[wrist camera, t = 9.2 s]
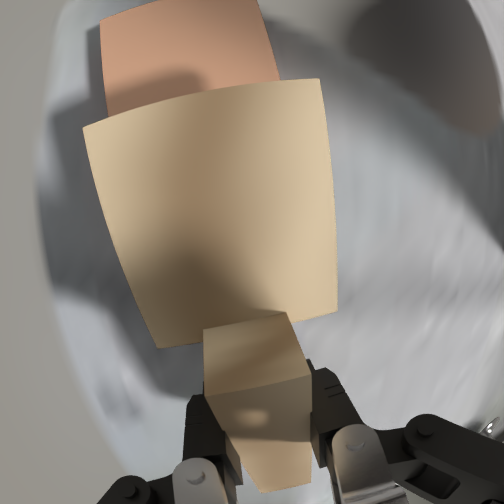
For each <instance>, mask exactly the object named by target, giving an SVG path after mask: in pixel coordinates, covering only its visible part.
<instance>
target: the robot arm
mask: <svg viewBox="0 0 504 504" xmlns="http://www.w3.org/2000/svg"><path fill="white" fill-rule="evenodd" d="M306 362H307V364H308V367H309V369H310V371H311V374H312V412H310V443H311V445H312V448H313V451H314V454H315V457H316V459H317V462H318V465H319V468H323V467H326V466H327V468H328V470H329V473H330V482H331V488H332V493H333V499H334V504H409V501H408V499H407V496H406V493H405V491H404V489H403V488H402V487H404V488H406V489H407V490H409V491H411V492H413V493H415V494H416V495H418V496H420V497H422V498H424V499H426V500H428V501H430V502H432V503H434V504H504V443H502V442H499V441H496V440H494V439H491V438H488V437H486V436H483V435H481V434H478V433H476V432H473V431H471V430H468V429H466V428H464V427H461V426H459V425H456V424H454V423H452V422H450V421H447V420H445V419H443V418H440V417H438V416H436V415H433V414H422V415H418V416H416V417H414V418H413V419H411V420H410V421H409V422H408V423H407V425H406V427H404V428H398V429H392V430H376V429H373V428H371V427H369V426H367V425H366V424H365V423H364V422H363V421H362V420H361V418H360V416H359V414H358V413H357V411H356V409H355V407H354V406H353V404H352V402H351V400H350V399H349V397H348V395H347V393H345V390H344V388H343V386H342V385H341V383H340V381H339V379H338V378H337V376H336V374H335V373H333V372H332V371H330V370H329V369H327V368H326V367H325V368H322V369H318V370H315V369H314V367H313V365H312V363H311V361H310V359H306ZM185 426H186V427H185V432H184V446H183V459H182V462H181V463H180V464H178V465H177V466H176V468H175V469H174V471H173V473H172V474H171V475H169V476H166V477H163V478H160V479H156V480H152V481H149V482H146V481H145V480H144V479H142V478H141V477H138V476H133V475H129V476H124V477H121V478H120V479H118V480H117V481H116V482H115V483H114V484H113V485H112V486H111V488H110V489H109V490H108V491H107V492H106V493H105V495H104V496H103V497H102V498H101V499H100V501H99V502H98V503H97V504H239V503H238V500H237V496H236V487H235V486H236V485H243V479H242V471H241V463H240V456H239V455H238V453H237V451H236V450H235V448H234V446H233V444H232V443H231V441H230V439H229V437H228V435H227V434H226V432H225V430H224V431H223V430H222V428H221V427H220V425H219V423H218V421H217V419H216V417H215V416H214V414H213V412H212V410H211V408H210V406H209V404H208V402H207V400H206V398H205V396H204V382H203V394H199V395H193V396H192V398H191V399H190V401H189V402H188V404H187V408H186V420H185ZM395 483H397V484H398V485H396V484H395ZM399 485H400V486H399ZM401 486H402V487H401Z"/></svg>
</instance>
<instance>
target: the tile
mask: <svg viewBox="0 0 504 504" xmlns="http://www.w3.org/2000/svg"><path fill="white" fill-rule="evenodd" d="M100 40H101V56H102V69H103V79H104V88H105V97H106V104H107V111H108V118H109V117H112V116H114V115H117V114H120V113H123V112H126V111H129V110H133V109H136V108H139V107H142V106H146V105H149V104H153V103H156V102H160V101H164V100H168V99H172V98H176V97H180V96H184V95H188V94H193V93H198V92H203V91H208V90H213V89H219V88H224V87H231V86H237V85H244V84H252V83H260V82H270V81H281V80H280V76H279V73H278V69H277V65H276V62H275V58H274V55H273V51H272V48H271V44H270V41H269V37H268V34H267V31H266V27H265V24H264V21H263V18H262V15H261V12H260V8H259V5H258V3H257V0H158V1H154V2H151V3H147V4H144V5H141V6H138V7H135V8H132V9H129V10H126V11H123V12H120V13H118V14H115V15H112V16H110V17H107V18H105V19H102V20H100Z"/></svg>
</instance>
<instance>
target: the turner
mask: <svg viewBox="0 0 504 504" xmlns="http://www.w3.org/2000/svg"><path fill="white" fill-rule="evenodd" d="M83 133H84V138H85V143H86V148H87V153H88V157H89V161H90V166H91V170H92V174H93V178H94V182H95V185H96V189H97V193H98V196H99V200H100V203H101V207H102V210H103V213H104V217H105V220H106V223H107V226H108V229H109V232H110V235H111V238H112V241H113V244H114V247H115V250H116V253H117V255H118V258H119V261H120V263H121V266H122V269H123V271H124V274H125V277H126V279H127V282H128V284H129V287H130V289H131V291H132V294H133V296H134V299H135V301H136V303H137V306H138V308H139V310H140V312H141V315H142V317H143V319H144V321H145V323H146V326H147V328H148V330H149V332H150V334H151V336H152V338H153V340H154V342H155V344H156V346H157V348H158V349H161V348H168V347H175V346H181V345H187V344H194V343H199V342H203V357H204V396H205V398H206V400H207V402H208V404H209V406H210V408H211V410H212V412H213V414H214V416H215V417H216V419H217V421H218V423H219V425H220V427H221V428H222V430H223V431H224V430H225V432H226V434H227V435H228V437H229V439H230V441H231V443H232V444H233V446H234V448H235V450H236V451H237V453H238V455H239V456H240V461H241V463H242V464H243V466H244V468H245V469H246V471H247V472H248V474H249V476H250V477H251V479H252V480H253V482H254V483H255V485H256V486H257V488H258V489H259V491H260V492H261V493H266V492H272V491H277V490H282V489H286V488H291V487H295V486H299V485H303V484H307V483H311V463H312V445H311V443H310V412H312V374H311V371H310V369H309V367H308V364H307V362H306V359H305V357H304V354H303V352H302V349H301V347H300V344H299V342H298V340H297V337H296V335H295V332H294V330H293V327H292V325H291V323H295V322H299V321H303V320H307V319H311V318H315V317H318V316H322V315H326V314H329V313H333V312H337V241H336V219H335V203H334V190H333V178H332V167H331V157H330V148H329V140H328V132H327V124H326V117H325V110H324V103H323V97H322V91H321V85H320V79H319V78H318V79H295V80H281V81H270V82H260V83H252V84H244V85H237V86H231V87H224V88H219V89H213V90H208V91H203V92H198V93H193V94H188V95H184V96H180V97H176V98H172V99H168V100H164V101H160V102H156V103H153V104H149V105H146V106H142V107H139V108H136V109H133V110H129V111H126V112H123V113H120V114H117V115H114V116H112V117H109V118H106V119H103V120H101V121H98V122H95V123H93V124H90V125H88V126H85V127H83Z"/></svg>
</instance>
